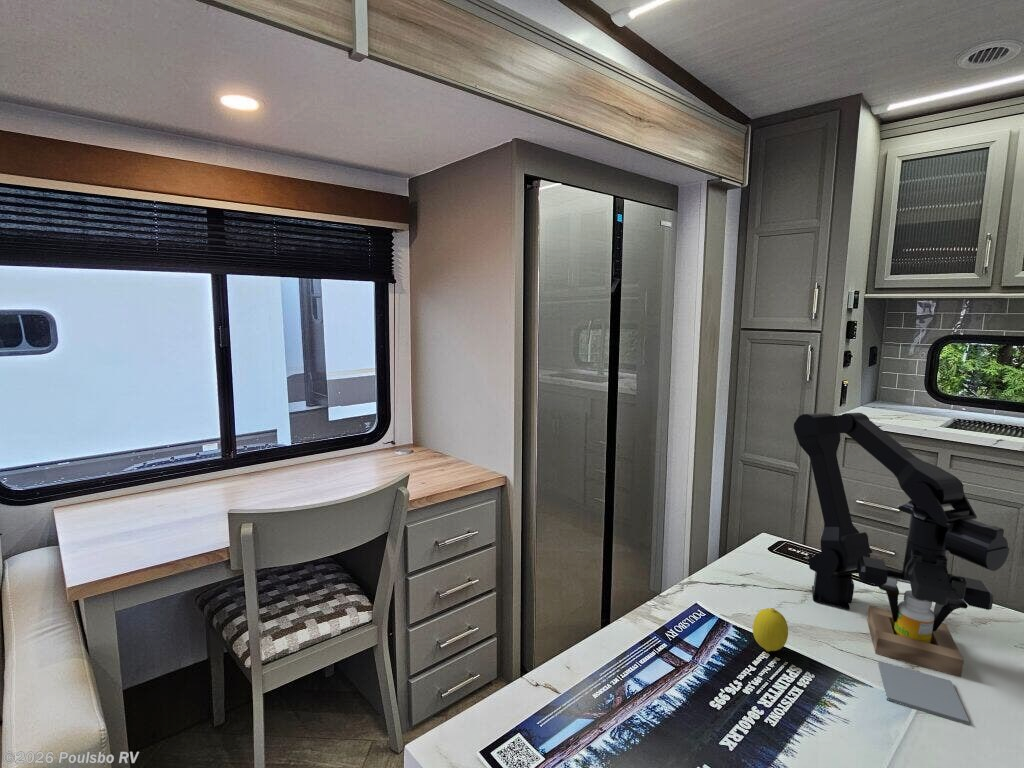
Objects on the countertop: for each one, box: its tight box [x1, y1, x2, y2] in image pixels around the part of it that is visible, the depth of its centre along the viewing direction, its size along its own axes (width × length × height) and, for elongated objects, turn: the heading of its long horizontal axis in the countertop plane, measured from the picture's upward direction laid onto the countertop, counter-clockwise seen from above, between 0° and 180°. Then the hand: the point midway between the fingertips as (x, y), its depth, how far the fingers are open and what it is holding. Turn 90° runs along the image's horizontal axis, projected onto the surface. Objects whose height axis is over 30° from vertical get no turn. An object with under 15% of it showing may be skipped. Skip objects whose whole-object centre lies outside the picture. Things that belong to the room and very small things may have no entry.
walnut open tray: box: [866, 605, 965, 677], centre depth 98 cm, size 12×12×3 cm
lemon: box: [752, 607, 789, 653], centre depth 95 cm, size 6×6×8 cm
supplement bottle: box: [894, 590, 935, 643], centre depth 98 cm, size 5×5×10 cm
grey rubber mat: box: [877, 660, 970, 725], centre depth 87 cm, size 10×10×1 cm
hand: (913, 625), depth 98 cm, fingers closed on supplement bottle, 5 cm apart
